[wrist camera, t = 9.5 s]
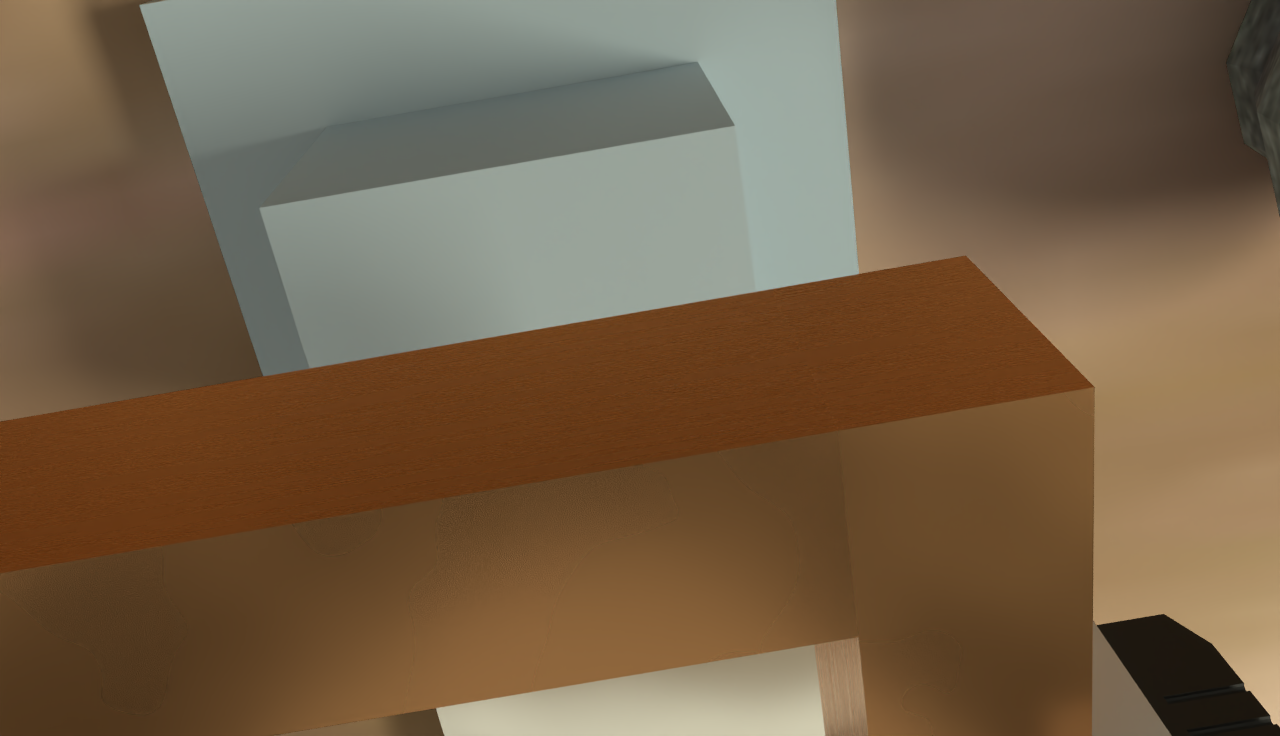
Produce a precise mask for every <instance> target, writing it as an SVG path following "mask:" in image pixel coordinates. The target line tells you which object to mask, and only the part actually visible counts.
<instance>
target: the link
mask: <svg viewBox="0 0 1280 736" xmlns="http://www.w3.org/2000/svg"><path fill="white" fill-rule="evenodd" d="M1094 392H1095V387H1094V386H1093V385H1092V384H1091V383H1090V382H1089V381H1088V380H1087V379H1086V378H1085V377H1084V376H1083V375H1082V374H1081V373H1080V372H1079V371H1078V370H1077V369H1076V368H1075V367H1074V366H1073V365H1072V364H1071V363H1070V362H1069V361H1068V360H1067V359H1066V358H1065V357H1064V356H1063V354H1062V353H1061V352H1060V351H1059V350H1058V349H1057V348H1056V347H1055V346H1054V345H1053V344H1052V343H1051V342H1050V341H1049V340H1048V339H1047V338H1046V337H1045V336H1044V335H1043V334H1042V333H1041V332H1040V331H1039V330H1038V329H1037V328H1036V327H1035V326H1034V325H1033V324H1032V323H1031V322H1030V321H1029V320H1028V319H1027V318H1026V317H1025V316H1024V315H1023V314H1022V313H1021V312H1020V311H1019V310H1018V309H1017V308H1016V307H1015V305H1014V304H1013V303H1012V302H1011V301H1010V300H1009V299H1008V298H1007V297H1006V296H1005V295H1004V294H1003V293H1002V292H1001V291H1000V290H999V289H998V288H997V287H996V286H995V285H994V284H993V283H992V282H991V281H990V280H989V279H988V278H987V277H986V276H985V275H984V274H983V273H982V272H981V271H980V270H979V269H978V268H977V267H976V266H975V265H974V264H973V263H972V262H971V261H970V260H969V259H968V257H967V256H961V257H955V258H950V259H944V260H938V261H932V262H926V263H921V264H915V265H909V266H903V267H897V268H891V269H886V270H880V271H874V272H868V273H862V274H857V275H851V276H845V277H839V278H833V279H827V280H822V281H816V282H810V283H804V284H798V285H793V286H787V287H781V288H775V289H769V290H763V291H758V292H752V293H746V294H740V295H734V296H729V297H723V298H717V299H711V300H705V301H699V302H694V303H688V304H682V305H676V306H670V307H665V308H659V309H653V310H647V311H641V312H635V313H630V314H624V315H618V316H612V317H606V318H601V319H595V320H589V321H583V322H577V323H572V324H566V325H560V326H554V327H548V328H542V329H537V330H531V331H525V332H519V333H513V334H508V335H502V336H496V337H490V338H484V339H478V340H473V341H467V342H461V343H455V344H449V345H444V346H438V347H432V348H426V349H420V350H414V351H409V352H403V353H397V354H391V355H385V356H380V357H374V358H368V359H362V360H356V361H350V362H345V363H339V364H333V365H327V366H321V367H316V368H310V369H304V370H298V371H292V372H286V373H281V374H275V375H269V376H263V377H257V378H252V379H246V380H240V381H234V382H228V383H223V384H217V385H211V386H205V387H199V388H193V389H188V390H182V391H176V392H170V393H164V394H159V395H153V396H147V397H141V398H135V399H129V400H124V401H118V402H112V403H106V404H100V405H95V406H89V407H83V408H77V409H71V410H65V411H60V412H54V413H48V414H42V415H36V416H31V417H25V418H19V419H13V420H7V421H1V422H0V736H273V735H279V734H285V733H291V732H297V731H303V730H309V729H315V728H321V727H327V726H333V725H339V724H345V723H351V722H357V721H363V720H369V719H375V718H380V717H386V716H392V715H398V714H404V713H410V712H416V711H422V710H428V709H434V708H440V707H446V706H452V705H458V704H464V703H470V702H476V701H482V700H488V699H494V698H500V697H506V696H512V695H517V694H523V693H529V692H535V691H541V690H547V689H553V688H559V687H565V686H571V685H577V684H583V683H589V682H595V681H601V680H607V679H613V678H619V677H625V676H631V675H637V674H643V673H649V672H654V671H660V670H666V669H672V668H678V667H684V666H690V665H696V664H702V663H708V662H714V661H720V660H726V659H732V658H738V657H744V656H750V655H756V654H762V653H768V652H774V651H780V650H786V649H791V648H797V647H803V646H809V645H815V654H816V662H817V670H818V679H819V687H820V695H821V704H822V712H823V720H824V729H825V736H1092V656H1093V524H1094Z"/></svg>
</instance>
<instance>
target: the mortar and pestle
mask: <svg viewBox="0 0 1280 736" xmlns="http://www.w3.org/2000/svg"><path fill="white" fill-rule="evenodd" d="M1226 64H1227V69H1228V73H1229V78H1230V82H1231V87H1232V91H1233V96H1234V100H1235V105H1236V109H1237V114H1238V118H1239V122H1240V127H1241V131H1242V136H1243V140H1244V144H1246V145H1247V146H1249V147H1250V148H1252V149H1253V150H1255V151H1256V152H1258V153H1260V154H1261V155H1263V156H1264V157H1266V158H1267V160H1268V165H1269V170H1270V174H1271V179H1272V183H1273V188H1274V193H1275V197H1276V202H1277V207H1278V211H1279V216H1280V0H1251V2H1250V5H1249V7H1248V10H1247V12H1246V15H1245V17H1244V20H1243V22H1242V25H1241V27H1240V30H1239V32H1238V35H1237V37H1236V40H1235V42H1234V45H1233V47H1232V50H1231V52H1230V54H1229V57H1228V59H1227V62H1226Z"/></svg>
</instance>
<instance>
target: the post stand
mask: <svg viewBox="0 0 1280 736" xmlns="http://www.w3.org/2000/svg"><path fill="white" fill-rule="evenodd" d="M436 710H437V713H438V717H439V720H440V723H441V727H442V730H443V733H444V736H825V729H824V720H823V712H822V704H821V695H820V687H819V679H818V670H817V662H816V654H815V645H809V646H803V647H797V648H791V649H786V650H780V651H774V652H768V653H762V654H756V655H750V656H744V657H738V658H732V659H726V660H720V661H714V662H708V663H702V664H696V665H690V666H684V667H678V668H672V669H666V670H660V671H654V672H649V673H643V674H637V675H631V676H625V677H619V678H613V679H607V680H601V681H595V682H589V683H583V684H577V685H571V686H565V687H559V688H553V689H547V690H541V691H535V692H529V693H523V694H517V695H512V696H506V697H500V698H494V699H488V700H482V701H476V702H470V703H464V704H458V705H452V706H446V707H440V708H436Z"/></svg>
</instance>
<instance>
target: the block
mask: <svg viewBox="0 0 1280 736" xmlns="http://www.w3.org/2000/svg"><path fill="white" fill-rule="evenodd" d="M139 6H140V9H141V12H142V15H143V18H144V21H145V24H146V27H147V30H148V33H149V36H150V39H151V42H152V45H153V48H154V51H155V54H156V57H157V60H158V63H159V66H160V69H161V72H162V75H163V78H164V81H165V84H166V87H167V90H168V93H169V96H170V99H171V102H172V105H173V108H174V111H175V114H176V117H177V120H178V123H179V126H180V129H181V132H182V135H183V138H184V141H185V144H186V147H187V150H188V153H189V156H190V159H191V162H192V165H193V168H194V171H195V174H196V177H197V180H198V183H199V186H200V189H201V192H202V195H203V198H204V201H205V204H206V207H207V210H208V213H209V216H210V219H211V222H212V225H213V228H214V231H215V234H216V237H217V239H218V242H219V245H220V248H221V251H222V254H223V257H224V260H225V263H226V266H227V269H228V272H229V275H230V278H231V281H232V284H233V287H234V290H235V293H236V296H237V299H238V302H239V305H240V308H241V311H242V314H243V317H244V320H245V323H246V326H247V329H248V332H249V335H250V338H251V341H252V344H253V347H254V350H255V353H256V356H257V359H258V362H259V365H260V368H261V371H262V374H263V376H269V375H275V374H281V373H286V372H292V371H298V370H304V369H310V368H316V367H321V366H327V365H333V364H339V363H345V362H350V361H356V360H362V359H368V358H374V357H380V356H385V355H391V354H397V353H403V352H409V351H414V350H420V349H426V348H432V347H438V346H444V345H449V344H455V343H461V342H467V341H473V340H478V339H484V338H490V337H496V336H502V335H508V334H513V333H519V332H525V331H531V330H537V329H542V328H548V327H554V326H560V325H566V324H572V323H577V322H583V321H589V320H595V319H601V318H606V317H612V316H618V315H624V314H630V313H635V312H641V311H647V310H653V309H659V308H665V307H670V306H676V305H682V304H688V303H694V302H699V301H705V300H711V299H717V298H723V297H729V296H734V295H740V294H746V293H752V292H758V291H763V290H769V289H775V288H781V287H787V286H793V285H798V284H804V283H810V282H816V281H822V280H827V279H833V278H839V277H845V276H851V275H857V274H859V270H858V258H857V246H856V234H855V222H854V210H853V198H852V186H851V174H850V162H849V150H848V138H847V126H846V114H845V103H844V91H843V79H842V67H841V55H840V43H839V31H838V19H837V7H836V0H151V1H149V2H146V3H144V4H141V5H139Z"/></svg>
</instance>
